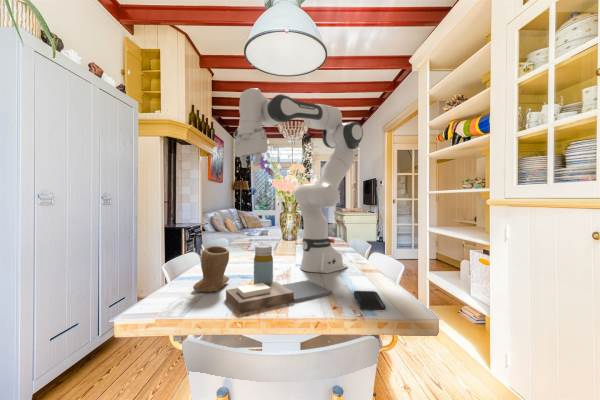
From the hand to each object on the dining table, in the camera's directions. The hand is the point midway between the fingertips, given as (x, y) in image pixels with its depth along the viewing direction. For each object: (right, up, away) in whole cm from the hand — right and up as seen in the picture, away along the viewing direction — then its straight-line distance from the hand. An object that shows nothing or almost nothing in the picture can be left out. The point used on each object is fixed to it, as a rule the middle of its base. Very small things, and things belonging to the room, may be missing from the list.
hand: (250, 166), depth 115 cm
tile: (+5, -43, -21) cm, 48 cm away
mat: (+20, -45, -11) cm, 51 cm away
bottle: (+6, -45, -5) cm, 46 cm away
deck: (+6, -45, -20) cm, 50 cm away
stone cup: (-12, -45, -7) cm, 47 cm away
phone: (+42, -46, -20) cm, 65 cm away
